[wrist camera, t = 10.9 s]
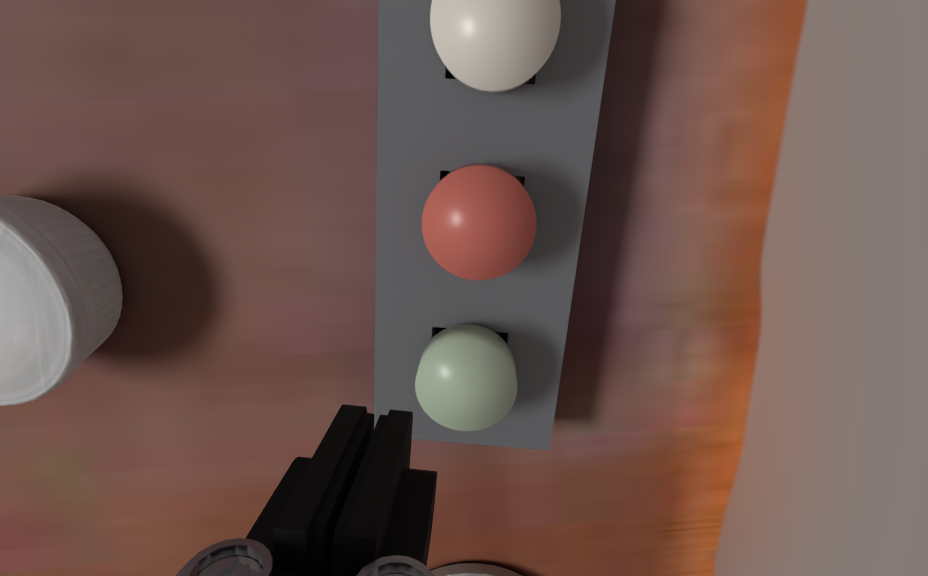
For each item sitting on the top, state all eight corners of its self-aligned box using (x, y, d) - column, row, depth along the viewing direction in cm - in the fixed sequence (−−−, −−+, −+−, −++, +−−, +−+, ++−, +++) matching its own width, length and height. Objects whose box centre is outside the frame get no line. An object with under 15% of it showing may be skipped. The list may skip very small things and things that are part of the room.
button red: (521, 256, 27) (529, 284, 22) (430, 249, 27) (419, 276, 22) (532, 162, 25) (543, 171, 20) (435, 155, 25) (424, 162, 21)
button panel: (543, 420, 31) (549, 450, 28) (384, 407, 31) (374, 435, 28) (612, -72, 22) (630, -101, 19) (393, -86, 22) (380, -117, 20)
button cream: (539, 100, 24) (552, 94, 20) (438, 92, 24) (427, 85, 20) (551, -16, 23) (569, -52, 18) (443, -24, 23) (433, -61, 18)
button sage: (507, 385, 29) (512, 435, 25) (424, 379, 29) (413, 427, 25) (516, 307, 28) (522, 344, 23) (428, 300, 28) (416, 336, 23)
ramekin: (-58, 158, 27) (-181, 166, 22) (144, 203, 27) (68, 221, 22) (-36, 339, 31) (-138, 381, 26) (143, 377, 31) (77, 426, 26)
